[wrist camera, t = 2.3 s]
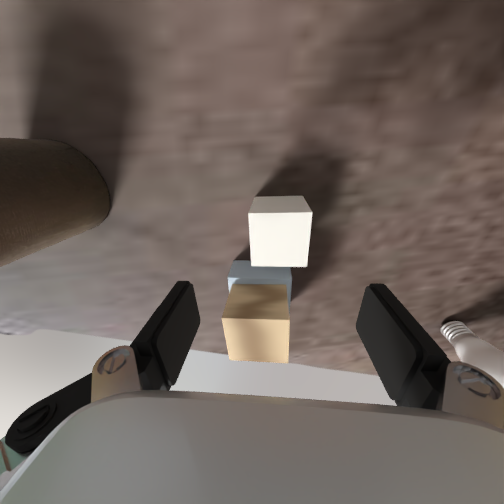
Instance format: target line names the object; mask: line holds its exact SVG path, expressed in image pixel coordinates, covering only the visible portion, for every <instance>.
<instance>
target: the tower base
mask: <svg viewBox="0 0 504 504" xmlns="http://www.w3.org/2000/svg"><path fill="white" fill-rule="evenodd" d="M232 284H284V285H286V287H287V297H288V308H289V314H290V299H291V285H292V276H291V269H290V267H274V266H251V261H247V260H234V261H233V264H232V267H231V269H230V272H229V275H228V285H229V293H230V290H231V286H232Z"/></svg>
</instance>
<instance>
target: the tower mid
mask: <svg viewBox="0 0 504 504" xmlns="http://www.w3.org/2000/svg"><path fill="white" fill-rule="evenodd" d="M222 322H223V327H224V333H225V338H226V343H227V349H228V354H229V359H230V360H240V361H257V362H275V363H288V351H289V323H290V319H289V308H288V297H287V287H286V285H284V284H232V286H231V290H230V293H229V296H228V299H227V303H226V306H225V309H224V313H223V316H222Z"/></svg>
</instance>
